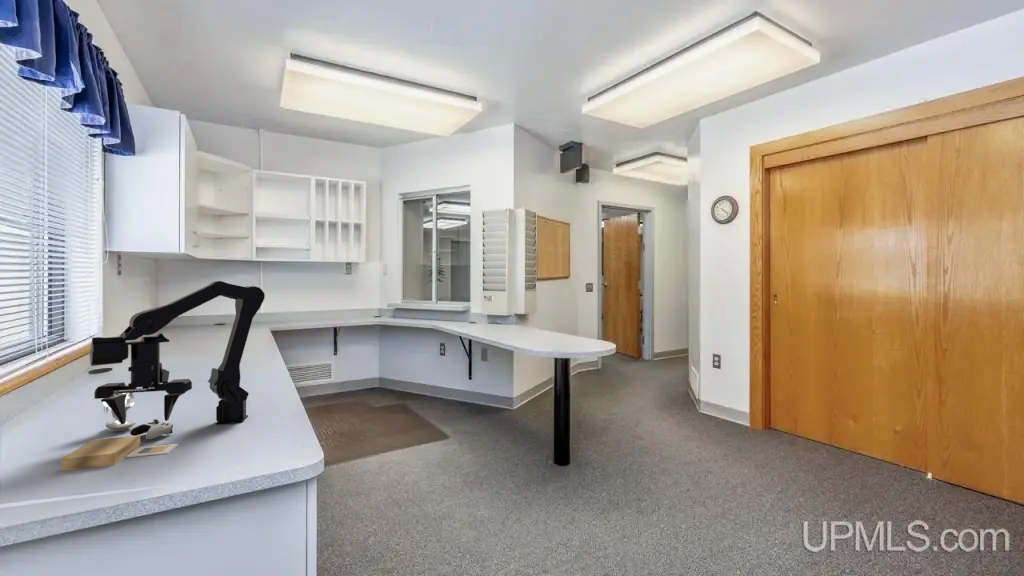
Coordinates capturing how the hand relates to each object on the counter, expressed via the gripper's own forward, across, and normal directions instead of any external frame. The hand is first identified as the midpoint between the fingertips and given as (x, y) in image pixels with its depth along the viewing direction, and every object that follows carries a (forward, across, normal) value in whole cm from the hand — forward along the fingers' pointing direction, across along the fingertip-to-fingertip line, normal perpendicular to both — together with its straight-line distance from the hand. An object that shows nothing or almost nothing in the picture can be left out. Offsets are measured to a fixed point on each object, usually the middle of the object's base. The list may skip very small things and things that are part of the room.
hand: (145, 422), depth 114 cm
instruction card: (+4, -6, +11) cm, 13 cm away
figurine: (+4, +10, -10) cm, 15 cm away
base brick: (+5, +3, +12) cm, 13 cm away
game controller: (+5, 0, 0) cm, 5 cm away
